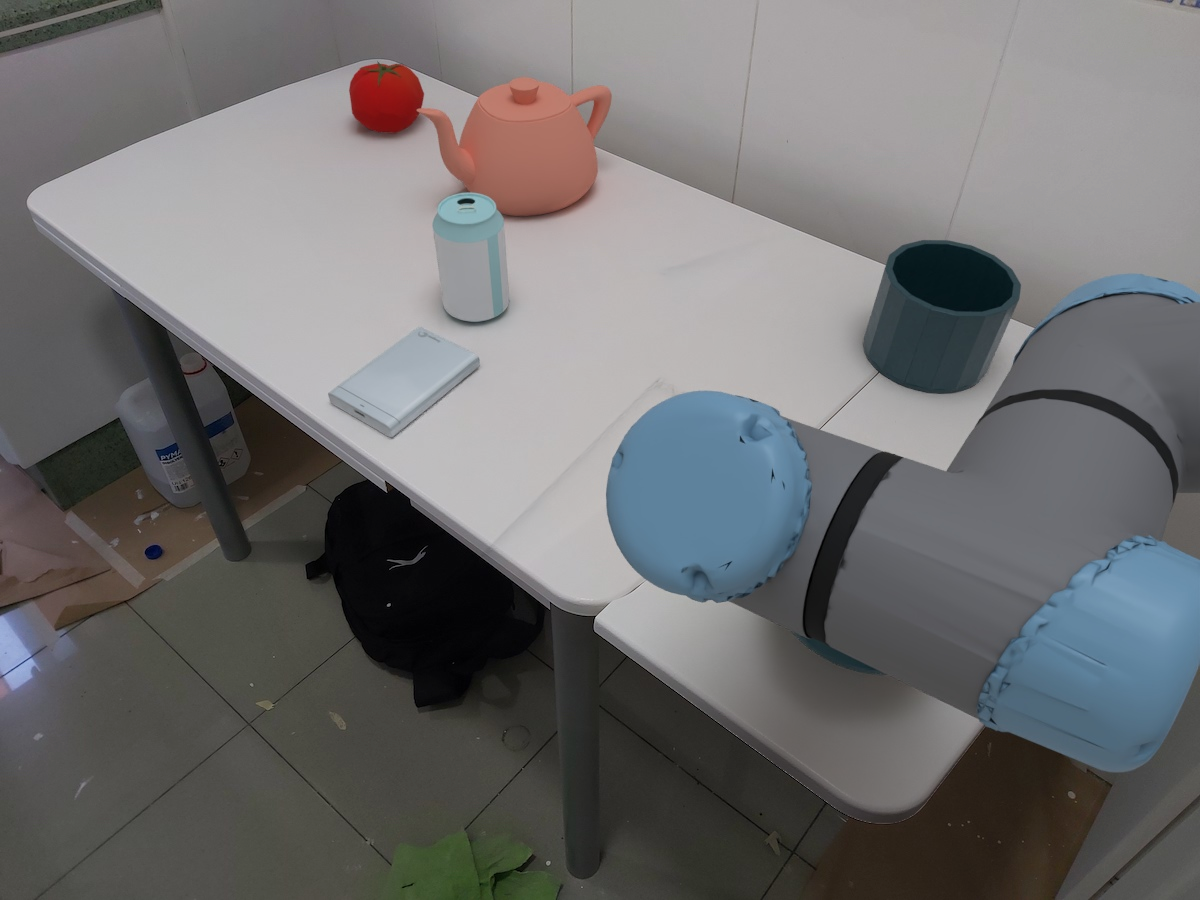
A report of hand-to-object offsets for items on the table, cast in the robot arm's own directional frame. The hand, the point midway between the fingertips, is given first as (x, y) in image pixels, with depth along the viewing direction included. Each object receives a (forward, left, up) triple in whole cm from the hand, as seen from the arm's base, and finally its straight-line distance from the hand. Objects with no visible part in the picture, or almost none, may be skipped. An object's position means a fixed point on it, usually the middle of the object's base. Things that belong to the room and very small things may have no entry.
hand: (901, 540), depth 64 cm
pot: (+13, -30, -8) cm, 34 cm away
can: (+51, -2, -8) cm, 52 cm away
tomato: (+91, -20, -8) cm, 94 cm away
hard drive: (+46, +11, -8) cm, 48 cm away
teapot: (+66, -22, -8) cm, 70 cm away
